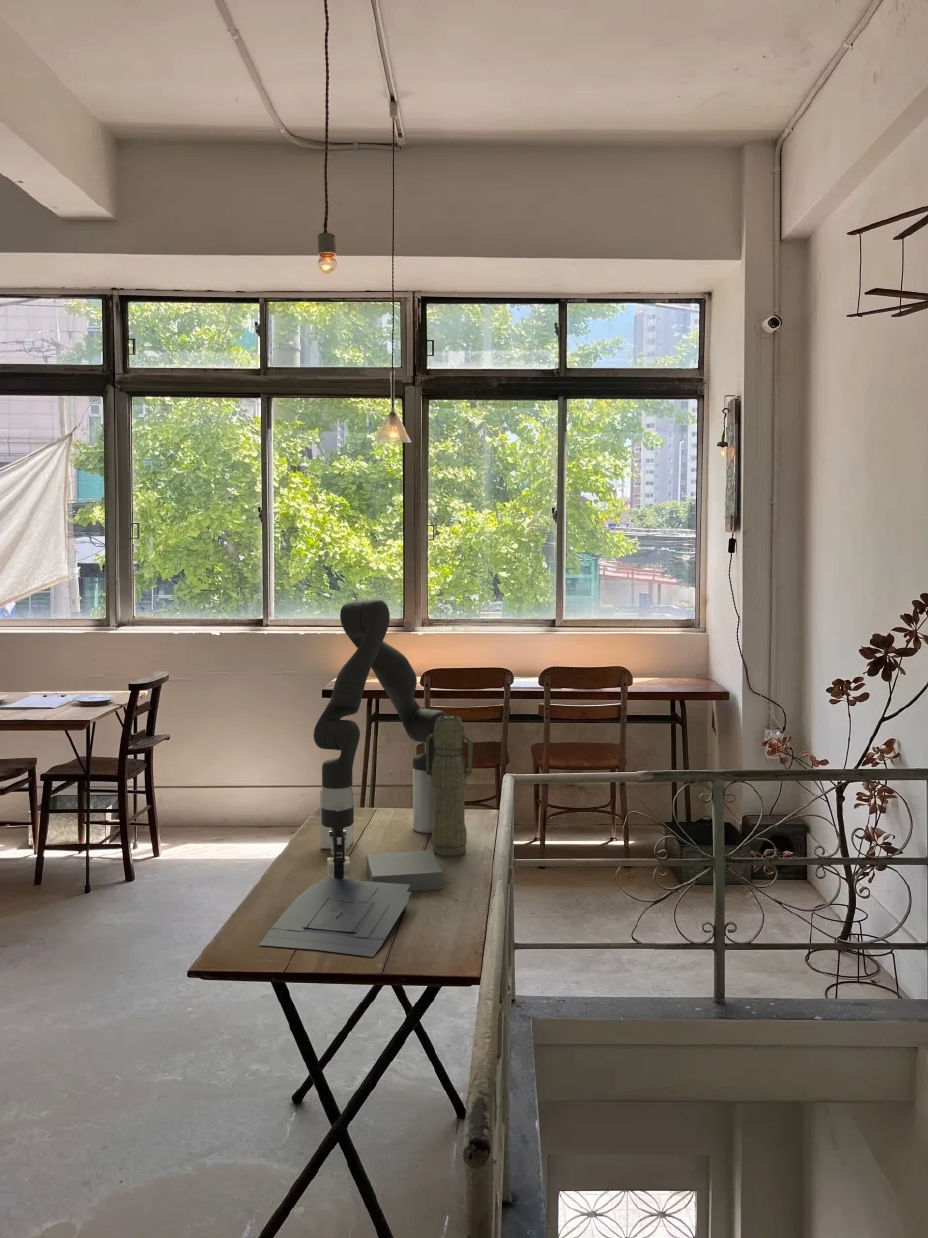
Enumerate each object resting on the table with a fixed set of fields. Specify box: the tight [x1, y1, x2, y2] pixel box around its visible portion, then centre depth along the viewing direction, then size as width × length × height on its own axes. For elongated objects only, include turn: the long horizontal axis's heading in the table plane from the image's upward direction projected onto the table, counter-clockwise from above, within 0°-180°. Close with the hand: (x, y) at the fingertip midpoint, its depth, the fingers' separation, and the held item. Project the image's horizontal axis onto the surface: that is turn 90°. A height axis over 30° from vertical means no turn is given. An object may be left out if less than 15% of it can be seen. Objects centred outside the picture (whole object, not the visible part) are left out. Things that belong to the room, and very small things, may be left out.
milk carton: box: [319, 790, 354, 850], centre depth 256 cm, size 7×7×19 cm
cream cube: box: [326, 856, 351, 880], centre depth 230 cm, size 5×5×5 cm
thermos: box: [425, 714, 474, 859], centre depth 250 cm, size 9×12×35 cm
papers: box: [258, 877, 412, 958], centre depth 205 cm, size 24×30×4 cm
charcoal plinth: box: [366, 849, 444, 892], centre depth 231 cm, size 16×16×4 cm
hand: (337, 872), depth 230 cm, fingers open, 8 cm apart
